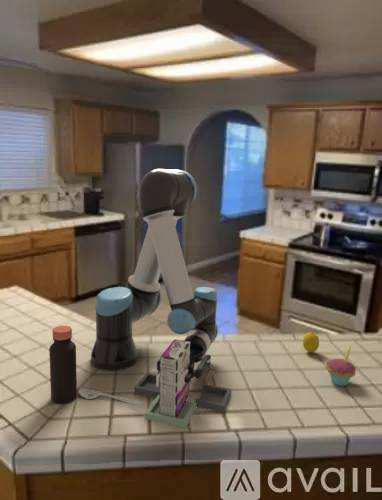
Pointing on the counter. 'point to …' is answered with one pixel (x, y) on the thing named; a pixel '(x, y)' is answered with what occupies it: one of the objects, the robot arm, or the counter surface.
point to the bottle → (63, 366)
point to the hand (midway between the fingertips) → (168, 383)
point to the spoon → (96, 393)
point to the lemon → (311, 342)
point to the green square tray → (180, 421)
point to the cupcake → (341, 370)
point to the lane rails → (208, 378)
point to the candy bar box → (173, 377)
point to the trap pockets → (209, 399)
